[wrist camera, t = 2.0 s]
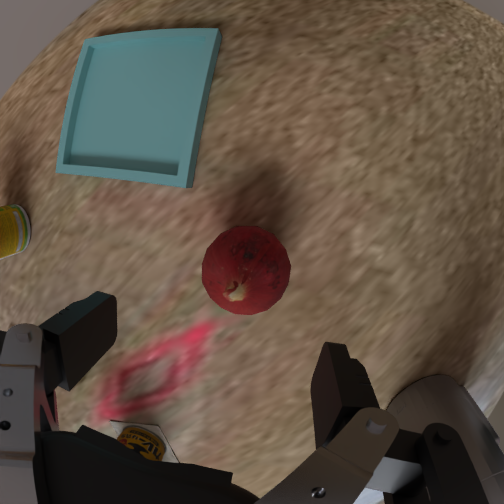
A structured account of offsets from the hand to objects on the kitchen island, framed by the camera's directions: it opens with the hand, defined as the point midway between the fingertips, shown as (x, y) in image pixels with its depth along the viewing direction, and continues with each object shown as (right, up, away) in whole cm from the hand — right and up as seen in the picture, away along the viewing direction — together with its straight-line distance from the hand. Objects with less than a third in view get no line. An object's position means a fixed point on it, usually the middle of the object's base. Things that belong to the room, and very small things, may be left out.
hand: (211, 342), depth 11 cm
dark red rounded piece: (+2, +3, +13) cm, 14 cm away
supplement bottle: (-24, +6, +15) cm, 29 cm away
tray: (-8, +16, +11) cm, 21 cm away
